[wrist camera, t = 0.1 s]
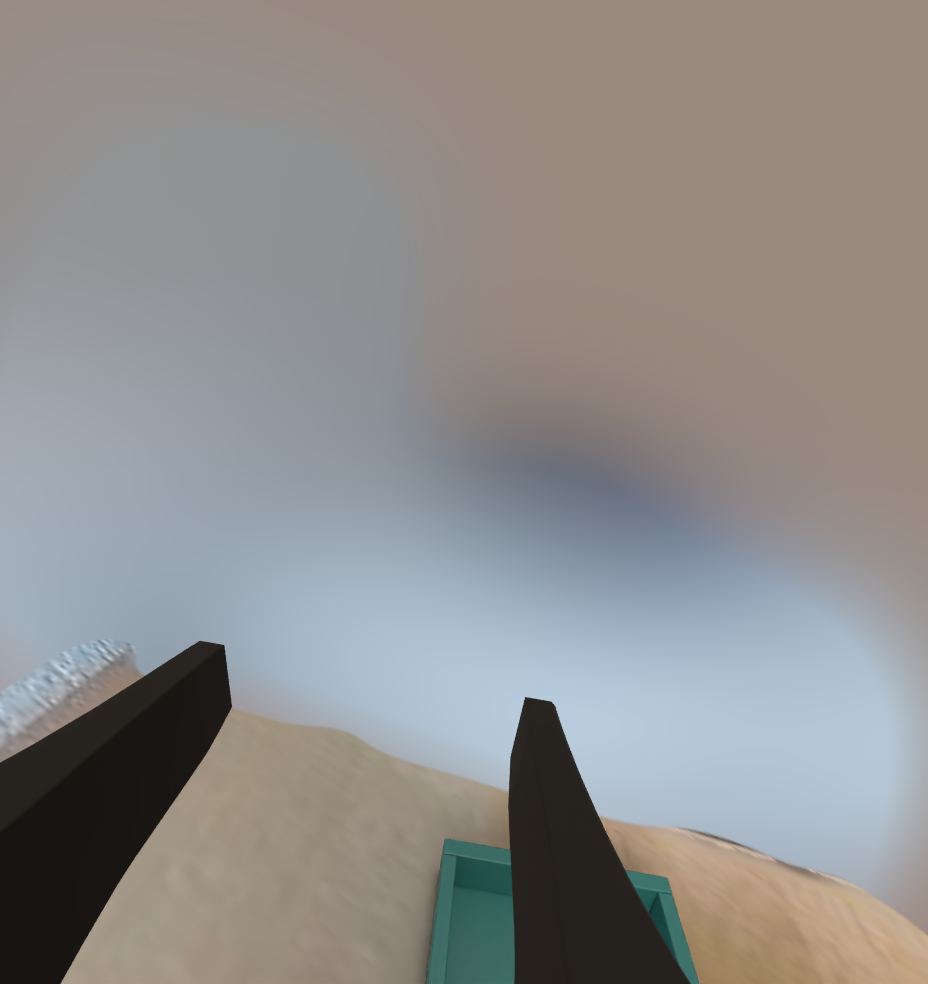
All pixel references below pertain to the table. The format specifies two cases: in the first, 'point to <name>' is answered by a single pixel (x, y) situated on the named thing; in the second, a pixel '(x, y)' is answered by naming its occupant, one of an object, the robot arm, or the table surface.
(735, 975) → the table surface
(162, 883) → the table surface
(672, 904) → the teal square tray
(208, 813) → the table surface
